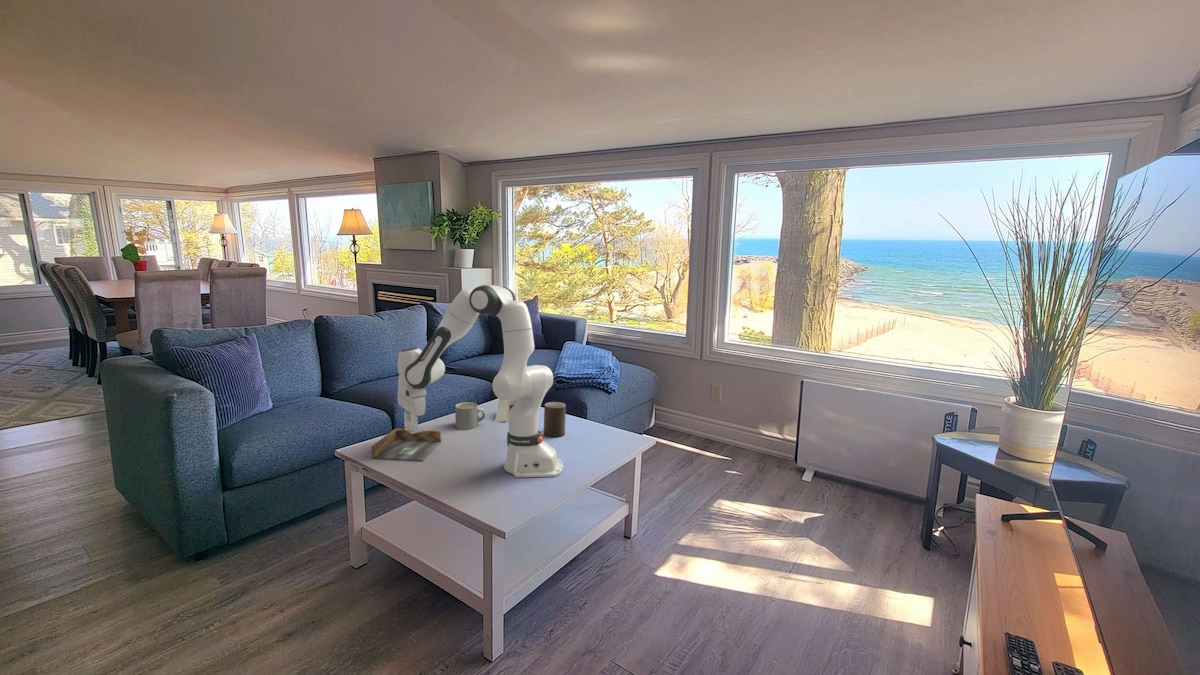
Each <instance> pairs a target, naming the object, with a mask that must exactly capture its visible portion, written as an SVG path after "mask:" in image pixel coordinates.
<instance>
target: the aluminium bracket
mask: <svg viewBox="0 0 1200 675" xmlns="http://www.w3.org/2000/svg"><path fill="white" fill-rule="evenodd" d="M403 415H404V416H403V418H404V419H403V420H404V429H406V430H407V431H408V432H409V433H411V434H413V433H418V432H423V431H424V430H425V429H424V428H423V427H422V426H421V425H419V422H418V421H419V416H415V421H414V422H410V421H409V417H410V412H409V411H408V412H406V411H404V412H403Z"/></svg>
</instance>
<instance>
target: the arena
mask: <svg viewBox="0 0 1200 675" xmlns="http://www.w3.org/2000/svg"><path fill="white" fill-rule="evenodd" d="M442 440H443V439H442V430H432V429H431V430H429V429H424V431H423V432H418V433H413V434H411V433H409V432H408V431H407V430H406V429H405V428H393V429H392V430H391V431H390V432H389V433H387V434H386V435H384V436H383V437H382V438H381V439H379V440H378V441H377V442H376V443H374V444H373V445H372V446H371V458H372V459H374V460H390V461H391V460H392V461H405V462H406V461H409V462H424V461H425V460H426V459H427V458H428V457H429V456H430V455H431V454H432V453H433V452H434V451H435V449H437V448H438V446H439V445H440V444H442Z"/></svg>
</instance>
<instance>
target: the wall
mask: <svg viewBox="0 0 1200 675" xmlns="http://www.w3.org/2000/svg"><path fill="white" fill-rule="evenodd" d="M517 400H518V399H515V400H500V399H499V400H498V403H497V408H496V413H495V418H494V423H500V422H505V423H509V412H510V410H511V408H512V407H513V406H514V405H515V404H516V402H517Z"/></svg>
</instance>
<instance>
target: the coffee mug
mask: <svg viewBox="0 0 1200 675" xmlns="http://www.w3.org/2000/svg"><path fill="white" fill-rule="evenodd" d="M454 407H455V408H454V409H455V412H454V413H455V428H456V429H458V430H463V431H466V430H467V431H468V430H474V429H476V428H477V427H478V425H479V424H478V423H479V422H481V421H483V420H484V419H485V417H486V411H485V409H484V408H481V407H478V404H477V403H476V402H472V401H471V402H469V401H467V402H466V401H465V402H459V403H457V404H456V405H455V406H454ZM479 412H481V414H482V415H481V417H479Z"/></svg>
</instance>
